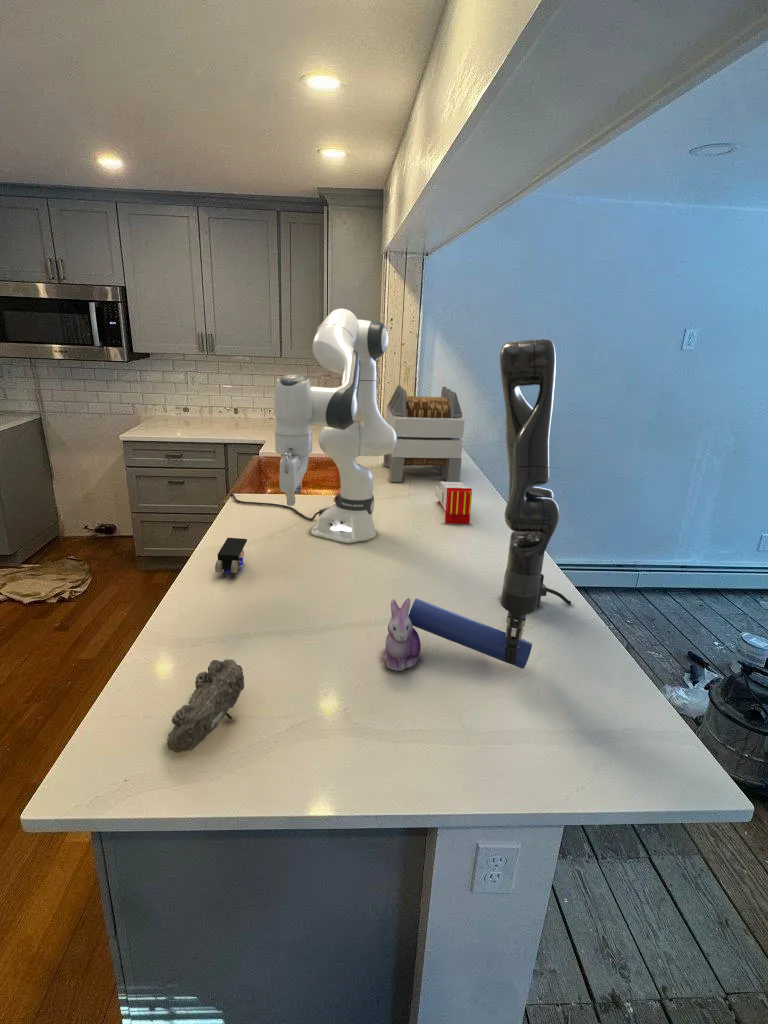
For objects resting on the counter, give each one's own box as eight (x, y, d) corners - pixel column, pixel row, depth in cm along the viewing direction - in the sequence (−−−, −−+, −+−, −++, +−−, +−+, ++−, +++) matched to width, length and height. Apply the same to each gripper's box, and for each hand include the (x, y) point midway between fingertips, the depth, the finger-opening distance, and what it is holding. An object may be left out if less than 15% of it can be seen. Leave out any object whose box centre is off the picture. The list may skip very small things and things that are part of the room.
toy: (463, 477, 236) (476, 489, 206) (461, 509, 239) (474, 525, 209) (433, 476, 235) (443, 488, 206) (432, 508, 238) (441, 524, 209)
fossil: (192, 660, 117) (244, 628, 112) (224, 691, 120) (276, 661, 115) (142, 746, 98) (202, 712, 93) (182, 779, 101) (242, 748, 96)
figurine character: (238, 584, 162) (249, 557, 175) (236, 562, 158) (247, 536, 172) (215, 584, 161) (227, 556, 175) (212, 561, 158) (225, 535, 171)
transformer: (382, 463, 289) (386, 382, 275) (445, 464, 293) (451, 384, 279) (390, 482, 257) (394, 392, 243) (460, 483, 261) (468, 394, 247)
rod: (404, 627, 129) (411, 604, 127) (411, 616, 134) (418, 594, 132) (522, 674, 123) (531, 650, 121) (523, 660, 129) (532, 637, 127)
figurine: (394, 677, 122) (397, 616, 117) (372, 652, 130) (375, 594, 125) (431, 667, 126) (436, 607, 121) (408, 643, 134) (412, 587, 129)
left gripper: (300, 455, 127) (300, 513, 131) (312, 436, 146) (312, 487, 151) (271, 454, 127) (273, 512, 131) (288, 434, 146) (288, 486, 151)
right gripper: (537, 606, 113) (525, 676, 119) (541, 575, 126) (530, 640, 131) (499, 599, 115) (489, 668, 121) (507, 570, 128) (498, 634, 134)
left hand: (294, 498), depth 141 cm, fingers open, 8 cm apart
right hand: (511, 653), depth 126 cm, fingers closed on rod, 6 cm apart
